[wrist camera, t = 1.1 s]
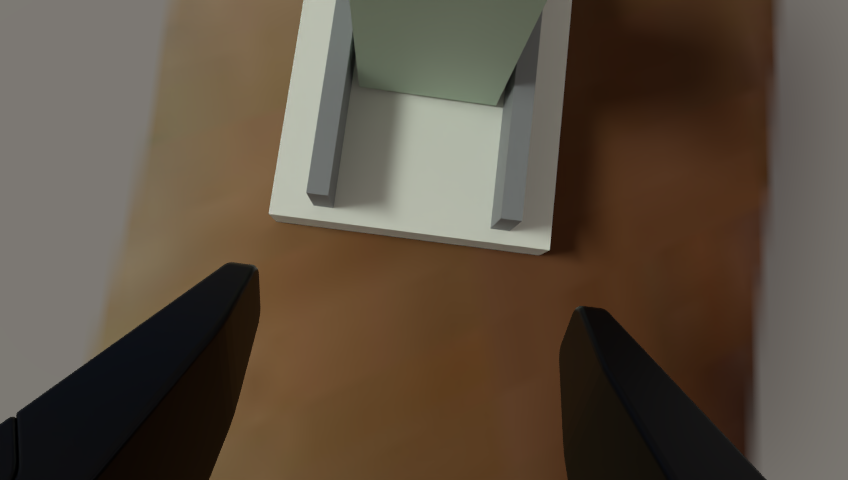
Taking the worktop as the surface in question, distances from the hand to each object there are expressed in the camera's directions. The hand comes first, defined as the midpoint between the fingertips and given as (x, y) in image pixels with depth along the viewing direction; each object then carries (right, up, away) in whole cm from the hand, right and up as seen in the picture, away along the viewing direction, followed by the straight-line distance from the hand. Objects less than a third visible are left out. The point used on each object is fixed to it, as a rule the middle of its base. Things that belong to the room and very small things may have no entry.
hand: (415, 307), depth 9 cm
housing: (0, +8, +15) cm, 17 cm away
